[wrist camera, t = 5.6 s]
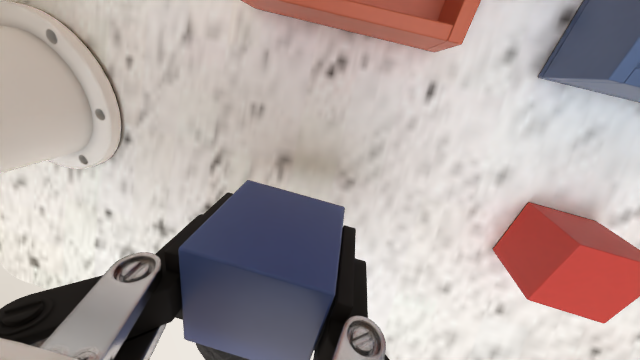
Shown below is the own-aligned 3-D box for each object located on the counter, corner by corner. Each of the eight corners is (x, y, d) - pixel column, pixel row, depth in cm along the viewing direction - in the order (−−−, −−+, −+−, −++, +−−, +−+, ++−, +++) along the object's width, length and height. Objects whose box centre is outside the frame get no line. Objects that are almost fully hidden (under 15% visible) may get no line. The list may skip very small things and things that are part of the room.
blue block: (240, 252, 12) (183, 340, 8) (247, 178, 10) (176, 248, 6) (322, 276, 12) (303, 377, 8) (345, 206, 10) (335, 294, 6)
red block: (492, 249, 18) (527, 300, 14) (528, 201, 16) (580, 244, 12) (551, 267, 18) (604, 324, 14) (595, 220, 16) (673, 271, 12)
